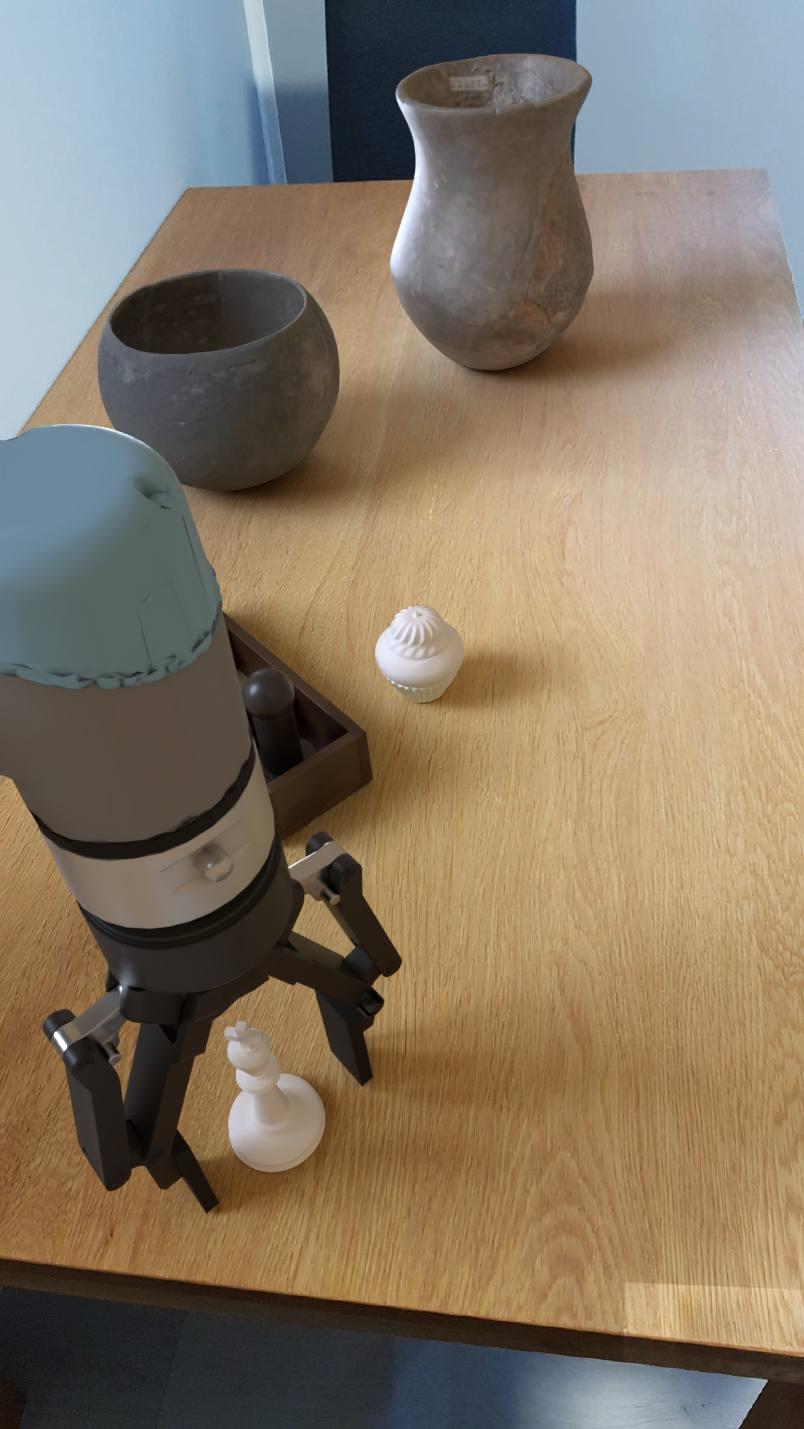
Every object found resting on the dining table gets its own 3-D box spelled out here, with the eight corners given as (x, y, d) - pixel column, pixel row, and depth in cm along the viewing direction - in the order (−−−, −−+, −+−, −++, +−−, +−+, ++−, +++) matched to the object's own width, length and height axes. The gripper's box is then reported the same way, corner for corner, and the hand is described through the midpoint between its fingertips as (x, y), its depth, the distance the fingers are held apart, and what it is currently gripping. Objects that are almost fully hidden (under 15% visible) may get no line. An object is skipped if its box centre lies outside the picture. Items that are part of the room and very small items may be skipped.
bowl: (339, 528, 90) (314, 362, 80) (103, 535, 92) (48, 373, 82) (360, 405, 104) (342, 249, 94) (156, 413, 107) (115, 262, 96)
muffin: (416, 647, 79) (409, 571, 74) (483, 679, 76) (481, 603, 71) (361, 695, 76) (350, 620, 71) (429, 731, 73) (423, 655, 68)
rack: (273, 847, 67) (260, 800, 64) (99, 670, 80) (81, 623, 77) (373, 780, 70) (366, 731, 67) (191, 620, 83) (178, 573, 80)
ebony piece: (278, 809, 68) (254, 712, 62) (240, 771, 71) (213, 675, 65) (333, 773, 70) (315, 675, 64) (294, 738, 73) (273, 640, 66)
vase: (362, 354, 112) (332, 86, 94) (501, 294, 119) (498, 35, 101) (485, 425, 100) (478, 135, 82) (631, 354, 107) (654, 73, 90)
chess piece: (244, 1071, 57) (204, 971, 50) (334, 1083, 56) (307, 982, 49) (217, 1164, 53) (170, 1071, 46) (313, 1179, 52) (280, 1085, 45)
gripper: (-71, 1124, 32) (128, 1343, 48) (468, 750, 41) (485, 1041, 57) (-157, 961, 36) (52, 1212, 52) (347, 655, 45) (394, 950, 61)
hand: (277, 1123), depth 54 cm, fingers open, 9 cm apart
